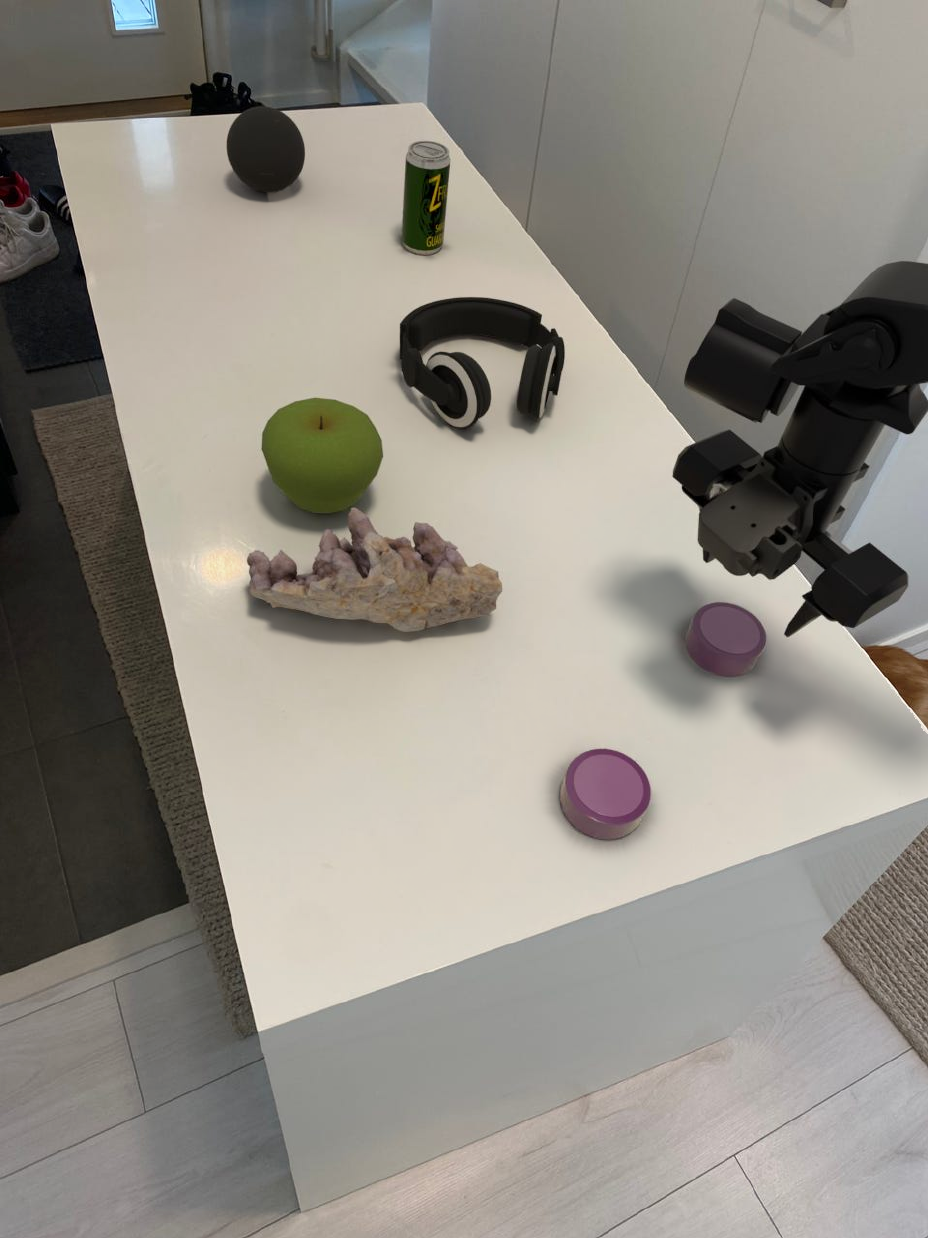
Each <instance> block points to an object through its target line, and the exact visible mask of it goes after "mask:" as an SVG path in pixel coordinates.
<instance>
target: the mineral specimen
mask: <svg viewBox="0 0 928 1238" xmlns="http://www.w3.org/2000/svg"><path fill="white" fill-rule="evenodd" d="M347 524H348V531H349V532H350V533H349V534H350V536H351V537H350V538H351V542H350V541H349V539H347V538H346V537H343V538H342V539H339V537H338V536H337V534H336V533H333V531H332V530H331V529H329V528H325V530H324V531H323V532H322V535H321V537H320V540H319V544H318V547H319V550H318V552H317V555H316V556H315V557H314V562H313V564H312V571H311V572H310V573H306V572H305V573H301V574H298V565H297V563H296V562H295V561H294V559H292V558H291V557H290V556H289V555H288V554H287V553H286V552H284V551H283V549H280V550H279V551H278V553H277V554H276V555H274V556H273V557H272V559H271V560H270V558H269V557H268V556H267V555H266V554H265V552H264V551H261V550H256V549H255V550H253V551H252V552H249V553H248V555H247V558H246V564H247V565H248V566H249V569H248V574H249V577H250V580H249V582H248V583H249V591H248V592H249V594H250V595H251V596H252V597H255V598H257V599H261V600H263V602H266V603H267V604H270V606H271V607H272V608H273V609H274V608H285V609H292V610H298V611H300V612H301V611H302V612H305V613H310V614H312V615H316V616H321V617H324V618H331V619H336V620H352V621H353V620H366V621H370V622H373V623H376V624H388V625H390V626H391V627H392V628H394V629H395V630H397V631H401V632H403V633H406V632H407V633H408V632H419V631H422V630H424V629H429V628H433V627H438V626H442V625H445V624H448V623H451V622H457V621H460V620H465V619H475V618H484V617H488V616H490V615H491V613H492V612H494V611H495V610H496V609H497V601H498V599H499V596H500V595H501V594H502V592H503V582H502V581H501V580H500V576H499V575H500V574H499V571H498V570H496V569H493V568H491V567H490V566H487V565H486V564H483V563H481V562H480V563H476V564H475V565H473V566H469V565H468V564H467V563H466V560H465V559H464V557H463V556H462V555H461V553H460V552H459V551H458V548H459V547H458V546H457V545H455V544H453V543H452V542H451V541H447V540H445V539H443V538H442V537H441V535H440V533H438V531H437V530H436V529H435V528H434V526H432V525H430V524H429V523H427V522H417V521H416V522H414V525H413V528H412V530H413V535H412V540H410V539H409V538H407V537H406V536H401V537H397V538H391V537H389V536H383V535H382V534H379V533H378V531H377V530H376V529H375V526H374V524H373V523H372V522H371V520H370V517H369V516H367V514H366V513H364V512H363V511H361V510H360V509H358V508H357V507H351V508H350V511H349V513H348V515H347ZM412 541H413V544H414V547H413V546H412Z"/></svg>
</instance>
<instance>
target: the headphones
mask: <svg viewBox="0 0 928 1238" xmlns="http://www.w3.org/2000/svg"><path fill="white" fill-rule="evenodd" d="M542 318H543V314H542V313H540V312H539V311H537V310H534V309H532V308H530V307H528V306H525V305H523V304H519V303H516V302H513V301H508V300H504V299H497V298H493V297H491V298H490V297H482V296H481V297H480V296H461V297H460V296H459V297H451V298H444V299H439V300H435V301H430V302H428V303H425V304H422V305H420V306H418V307H416V308H414V309H413V310H412V311H410V312H409V313H408V314H407V315H406V316H405V317H404V318H403V319H402V320H401V321H400V323H399V360H400V365H401V372H402V377H403V379H404V382H405V384H406V385H407V387H408V388H414V389H415V390H417V391H418V392H419V393H420V394H421V395H423V396H425V397H426V398H427V399H428V400H430V402H431V404H432V406H433V407H434V410H435V411H436V412H437V413H438V415H439V416H440V417H441V418H442V419H443V420H444V421H445V422H447V423H448V425H450V426H452V427H454V428H456V429H460V430H467V429H470V428H471V427H473V426H474V425H475V424H476V423H477V422H478V420H479V419H481V418H483V417H484V416H486V414H487V412H488V411H489V410H490V407H491V403H492V390H491V384H490V381H489V379H488V377H487V374H486V373H485V371H484V369H483V367H482V366H481V365H480V364H479V363H478V362H477V360H475V359H474V358H473V357H472V356H470V355H468V354H467V353H464V352H461V351H454V352H453V351H452V352H449V351H437V352H434V353H433V354H432V355H430V356H429V358H428V360H427V362H426V364H425V363H424V360H423V356H422V354H421V351H422V350H424V349H425V348H426V347H427V346H428V345H430V344H431V343H434V342H437V341H438V340H441V339H444V338H448V337H453V336H459V335H476V336H486V337H490V338H491V337H492V338H496V339H499V340H500V339H501V340H504V341H507V342H511V343H513V344H516V345H520V346H524V347H527V348H528V349H527V351H526V354H525V356H524V361H523V364H522V368H521V373H520V379H519V382H518V383H519V384H518V390H517V395H516V396H517V397H516V409H517V411H518V412H519V414H521V415H531V417H532V418H533V419H535V421H539V419H542V417H543V414H544V412H545V411H546V408H547V405H548V401H549V397H550V393H551V392H552V396H556V397H557V396H559V395H558V394H559V389H560V384H561V379H562V378H561V377H562V372H563V370H564V365H565V358H566V354H565V353H566V349H565V341H564V339H563V336H559V334H558V332H557V329H556V328H555V327H554V328H550V329H549V328H547V326H545V325H544V324H542Z"/></svg>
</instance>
